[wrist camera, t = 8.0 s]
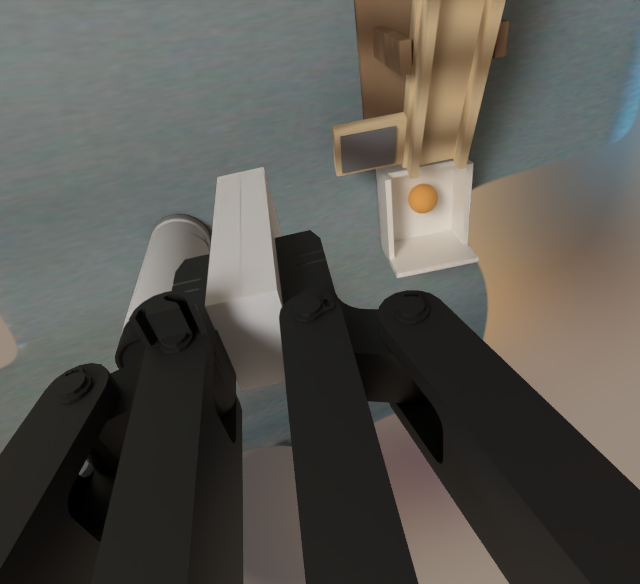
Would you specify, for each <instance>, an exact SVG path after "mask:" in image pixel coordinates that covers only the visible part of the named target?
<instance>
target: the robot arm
mask: <svg viewBox="0 0 640 584" xmlns="http://www.w3.org/2000/svg"><path fill="white" fill-rule="evenodd" d="M129 320H130V322H131V324H132V325H133V327H134V329H135V330H136V332H137V334H138V336H139V337H140V339H141V341H142V342H143V344H144V346H145V347H146V349H145V353H144V357H143V358H141V359H140V360H138V361H136V362H134V363H132V364H130V365H128V366H126V367H124V368H121V369H119V370H117V371H115V372H113V373H111V374H110V373H109V371H108V370H107V369H106V368H105V367H104V366H102V365H101V364H94V363H89V364H84V365H79V366H77V367H75V368H72V369H70V370H68V371H66V372H65V373H63V374H62V375H60V376H59V377H58V378H56V379H55V380H54V381H53V382H52V383H51V384H50V385H49V386H48V388H47V389H46V390H45V391H44V393H43V394H42V396H41V397H40V398H39V400H38V401H37V403H36V404H35V406H34V407H33V408H32V410H31V411H30V413H29V414H28V416H27V417H26V418H25V420H24V421H23V423H22V424H21V425H20V427H19V428H18V430H17V431H16V433H15V434H14V435H13V437H12V438H11V440H10V441H9V443H8V444H7V445H6V447H5V448H4V450H3V451H2V453H1V454H0V584H243V485H242V484H243V483H242V482H243V480H242V409H241V405H240V402H239V400H238V397H237V395H236V380H237V382H238V384H239V386H240V389H241V391H247V390H251V389H256V388H260V387H265V386H269V385H274V384H278V383H282V382H285V383H286V393H287V402H288V412H289V422H290V432H291V442H292V451H293V461H294V471H295V481H296V491H297V501H298V510H299V520H300V530H301V540H302V549H303V559H304V569H305V578H306V584H418V581H417V577H416V574H415V570H414V566H413V563H412V559H411V556H410V552H409V549H408V545H407V542H406V538H405V534H404V531H403V527H402V524H401V520H400V517H399V513H398V509H397V505H396V502H395V498H394V495H393V491H392V488H391V484H390V480H389V477H388V473H387V470H386V466H385V462H384V459H383V455H382V452H381V448H380V444H379V441H378V437H377V434H376V430H375V427H374V423H373V419H372V416H371V412H370V409H369V405H368V402H367V401H374V402H389V403H390V406H391V408H392V409H393V411H394V412H395V414H396V415H397V417H398V418H399V419H400V421H401V422H402V424H403V425H404V427H405V428H406V430H407V431H408V433H409V434H410V436H411V437H412V439H413V440H414V442H415V443H416V445H417V446H418V448H419V449H420V451H421V452H422V453H423V455H424V457H425V458H426V460H427V461H428V463H429V464H430V466H431V467H432V469H433V470H434V472H435V473H436V475H437V476H438V478H439V479H440V481H441V482H442V484H443V485H444V487H445V488H446V490H447V491H448V493H449V494H450V496H451V497H452V499H453V500H454V502H455V503H456V505H457V506H458V508H459V509H460V511H461V512H462V514H463V515H464V517H465V518H466V520H467V521H468V523H469V524H470V526H471V527H472V529H473V530H474V532H475V533H476V534H477V536H478V537H479V539H480V540H481V542H482V543H483V545H484V546H485V548H486V549H487V551H488V552H489V554H490V555H491V557H492V558H493V560H494V561H495V563H496V564H497V566H498V567H499V569H500V570H501V572H502V573H503V575H504V576H505V578H506V579H507V581H508V582H509V584H640V490H639V489H638V488H637V487H636V486H635V485H634V484H633V483H632V482H631V481H630V480H629V479H628V478H627V477H626V476H625V475H623V474H622V473H621V472H620V471H619V470H618V469H617V468H616V467H615V466H614V465H613V464H612V463H611V462H610V461H609V460H608V459H607V458H606V457H604V456H603V454H601V453H600V452H599V451H598V450H597V449H596V448H595V447H594V446H593V445H592V444H591V443H590V442H589V441H588V440H587V439H586V438H584V437H583V435H581V433H579V432H578V431H577V430H576V429H575V428H574V427H573V426H572V425H571V424H570V423H569V422H568V421H567V420H566V419H565V418H563V416H562V415H561V414H560V413H558V412H557V411H556V410H555V409H554V408H553V407H552V406H551V405H550V404H549V403H548V402H547V401H546V400H545V399H544V398H543V397H542V396H541V395H539V394H538V392H537V391H535V390H534V389H533V388H532V387H531V386H530V385H529V384H528V383H527V382H526V381H525V380H524V379H523V378H522V377H521V376H520V375H519V374H517V372H515V370H513V369H512V368H511V367H510V366H509V365H508V364H507V363H506V362H505V361H504V360H503V359H502V358H501V357H500V356H499V355H498V354H497V353H496V352H495V351H494V350H492V349H491V348H490V347H489V346H488V345H487V344H486V343H485V342H484V341H483V340H482V339H481V338H480V337H479V336H478V335H477V334H476V333H475V332H474V331H473V330H472V329H471V328H469V327H468V326H467V325H466V324H465V323H464V322H463V321H462V320H461V319H460V318H459V317H458V316H457V315H456V314H455V313H454V312H453V311H452V310H451V309H450V308H449V307H447V306H446V305H445V304H444V303H443V302H442V301H441V300H440V299H439V298H437V297H435V296H434V295H432V294H431V293H427V292H423V291H403V292H399V293H395V294H393V295H391V296H390V297H388V298H386V299H385V300H384V301H383V302H382V304H381V305H380V306H379V309H358V308H354V307H351V306H348V305H347V304H345V303H343V302H342V301H341V300H340V299H339V298H338V297H337V295H336V293H335V290H334V286H333V282H332V279H331V275H330V272H329V268H328V265H327V261H326V257H325V254H324V251H323V247H322V243H321V239H320V238H319V237H318V236H317V235H316V234H314V233H313V232H312V231H311V230H308V231H304V232H299V233H295V234H290V235H286V236H281V232H280V228H279V225H278V221H277V217H276V213H275V209H274V205H273V201H272V198H271V194H270V190H269V186H268V182H267V178H266V174H265V171H264V167H261V168H257V169H252V170H248V171H243V172H239V173H234V174H230V175H225V176H220V177H217V187H216V197H215V208H214V218H213V228H212V238H211V248H210V254H207V255H202V256H198V257H193V258H189V259H185V260H184V261H183V262H182V264H181V265H180V266H179V268H178V269H177V270H176V271H175V276H174V281H173V286H172V291H168V292H164V293H161V294H158V295H155V296H153V297H151V298H149V299H147V300H146V301H144V302H142V303H141V304H140V305H139V306H138V307H137V308H136V309H135V310H134V311H133V313H132V314H131V316H130V318H129ZM86 460H87V461H88V463H89V465H88V467H87V468H86V470H85V471H84V472H83V474H82V475H79V472H80V470H81V468H82V467H83V465H84V463H85V461H86Z"/></svg>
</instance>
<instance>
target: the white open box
mask: <svg viewBox="0 0 640 584" xmlns="http://www.w3.org/2000/svg"><path fill="white" fill-rule="evenodd" d="M472 177H473V162H472V161H470V160H469V159H468V160H467V164H466V168H463V169H458V168H457V166H456V164H455V162H454V160H453V159H448V160H443V161H438V162H433V163H428V164H423V165H419V173H418V178H412V179H411V178H410V176H409V174H408V171H407V169H406V168H403V167H402V165H401V164H399V165H394V166H388V167H383V168H378V169H376V181H377V195H378V210H379V225H380V240H381V247H382V249H383V251H384V253H385V255H386V257H387V259H388V261H389V263H390V265H391V267H392V269H393V271H394V273H395V275H396V277H397V278H401V277H405V276H410V275H415V274H420V273H425V272H430V271H435V270H440V269H445V268H450V267H455V266H460V265H464V264H469V263H474V262H478V261H479V257H478V255H477V254H476V253H475V252H474V250H473V249H472V248H471V247H470V245H469V244H468V231H469V217H470V204H471V191H472ZM419 184H428V185H431V186H432V187H433V188H434V189H435V190H436V192H437V195H438V201H437V204H436V206H435V207H434V209H433V210H431V211H430V212H428V213H417V212H415V211H413V210H412V209H411V207H410V206H409V203H408V195H409V193H410V191H411V190H412V188H413V187H415V186H416V185H419Z"/></svg>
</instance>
